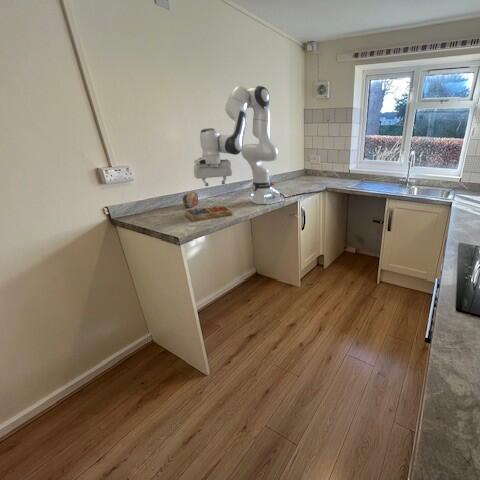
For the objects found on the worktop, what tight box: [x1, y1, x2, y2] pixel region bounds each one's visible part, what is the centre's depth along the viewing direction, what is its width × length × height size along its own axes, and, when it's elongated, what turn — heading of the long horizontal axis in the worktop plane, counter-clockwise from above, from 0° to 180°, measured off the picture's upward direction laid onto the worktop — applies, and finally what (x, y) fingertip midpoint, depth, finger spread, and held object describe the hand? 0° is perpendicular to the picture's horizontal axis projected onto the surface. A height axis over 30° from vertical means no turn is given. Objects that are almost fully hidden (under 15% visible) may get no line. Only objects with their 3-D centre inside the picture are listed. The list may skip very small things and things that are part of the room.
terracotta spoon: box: [213, 205, 222, 212], centre depth 154 cm, size 10×4×3 cm, turn 39°
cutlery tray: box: [184, 205, 233, 222], centre depth 151 cm, size 22×14×3 cm, turn 129°
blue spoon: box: [194, 207, 203, 215], centre depth 148 cm, size 10×4×3 cm, turn 38°
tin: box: [182, 191, 199, 209], centre depth 168 cm, size 15×3×8 cm, turn 179°
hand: (215, 185), depth 149 cm, fingers open, 8 cm apart
